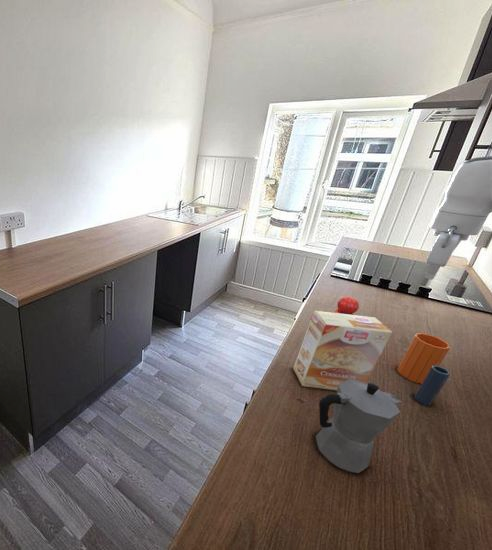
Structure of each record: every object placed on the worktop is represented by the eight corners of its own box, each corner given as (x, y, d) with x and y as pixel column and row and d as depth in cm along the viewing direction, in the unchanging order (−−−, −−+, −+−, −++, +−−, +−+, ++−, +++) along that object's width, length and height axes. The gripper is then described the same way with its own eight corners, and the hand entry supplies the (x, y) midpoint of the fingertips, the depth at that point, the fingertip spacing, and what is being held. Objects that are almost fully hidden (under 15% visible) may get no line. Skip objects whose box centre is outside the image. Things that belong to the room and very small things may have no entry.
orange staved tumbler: (435, 382, 82) (456, 347, 77) (416, 385, 81) (437, 349, 76) (409, 366, 88) (427, 332, 83) (391, 368, 87) (409, 334, 82)
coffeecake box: (302, 386, 78) (325, 324, 70) (291, 368, 84) (312, 309, 77) (362, 395, 76) (394, 331, 69) (347, 375, 83) (374, 316, 75)
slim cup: (434, 404, 75) (453, 373, 71) (424, 406, 74) (443, 375, 70) (420, 395, 77) (438, 364, 73) (410, 396, 77) (428, 366, 73)
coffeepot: (353, 431, 66) (385, 367, 59) (389, 474, 57) (432, 405, 50) (287, 431, 65) (311, 367, 58) (314, 475, 56) (347, 406, 49)
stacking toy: (309, 344, 96) (327, 292, 88) (326, 339, 98) (346, 289, 91) (332, 359, 89) (354, 305, 82) (350, 354, 92) (373, 301, 84)
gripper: (471, 232, 66) (442, 288, 72) (475, 222, 79) (450, 270, 84) (433, 226, 71) (408, 279, 76) (443, 217, 83) (421, 263, 89)
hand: (430, 274), depth 80 cm, fingers open, 8 cm apart
